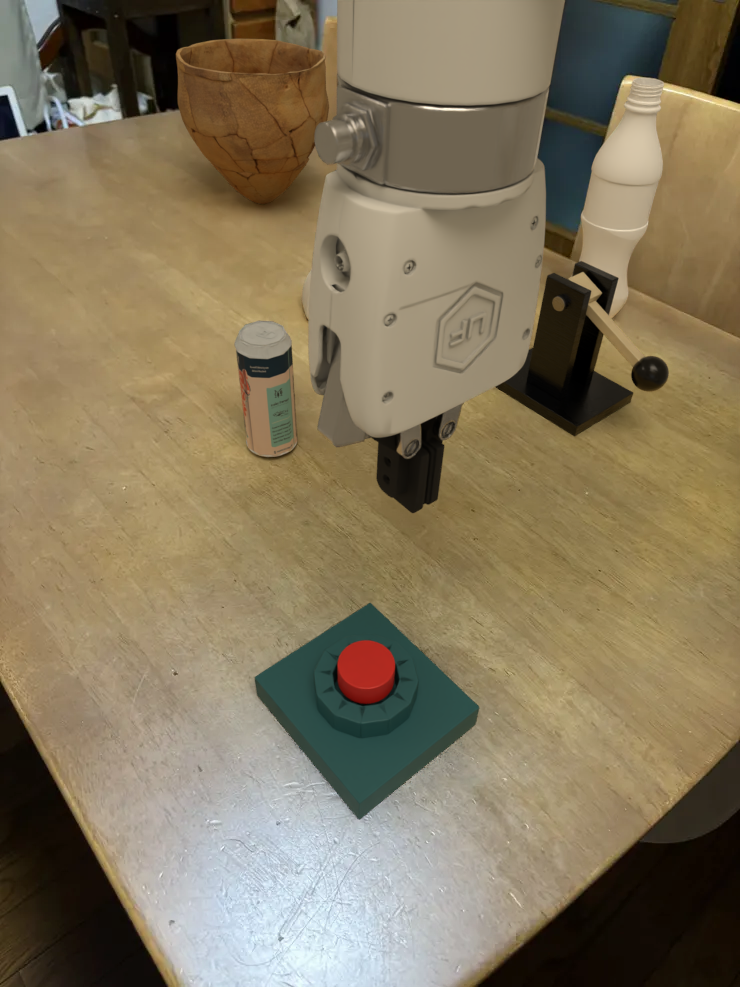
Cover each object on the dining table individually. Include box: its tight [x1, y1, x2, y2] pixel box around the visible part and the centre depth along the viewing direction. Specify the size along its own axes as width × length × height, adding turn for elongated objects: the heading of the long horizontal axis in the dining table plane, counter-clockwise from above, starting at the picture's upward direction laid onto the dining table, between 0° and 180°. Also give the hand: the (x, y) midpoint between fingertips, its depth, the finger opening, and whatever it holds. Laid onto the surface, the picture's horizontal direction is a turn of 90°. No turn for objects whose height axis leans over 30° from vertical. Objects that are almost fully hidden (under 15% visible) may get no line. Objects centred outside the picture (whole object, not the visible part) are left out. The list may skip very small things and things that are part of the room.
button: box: [337, 640, 395, 704], centre depth 47 cm, size 4×4×2 cm
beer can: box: [234, 320, 298, 458], centre depth 66 cm, size 5×5×12 cm
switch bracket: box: [495, 261, 634, 437], centre depth 73 cm, size 12×9×13 cm
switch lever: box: [567, 272, 670, 393], centre depth 69 cm, size 13×3×3 cm, turn 40°
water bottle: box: [569, 77, 665, 319], centre depth 81 cm, size 7×7×25 cm
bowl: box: [175, 38, 330, 205], centre depth 105 cm, size 21×20×20 cm
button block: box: [253, 602, 480, 820], centre depth 49 cm, size 11×10×4 cm
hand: (406, 492), depth 40 cm, fingers closed
